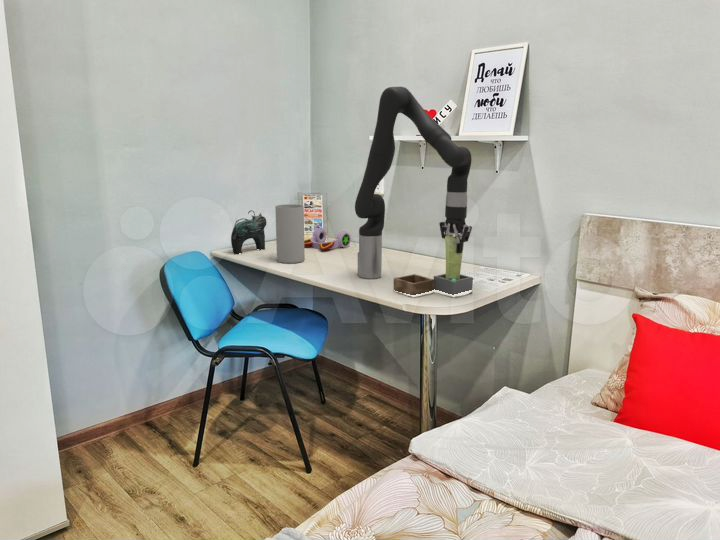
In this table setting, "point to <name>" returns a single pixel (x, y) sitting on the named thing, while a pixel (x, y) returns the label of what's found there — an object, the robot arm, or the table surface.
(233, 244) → the ceramic cat
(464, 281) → the socket block
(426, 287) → the brown wooden square frame
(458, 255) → the tube
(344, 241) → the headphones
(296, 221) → the cylinder vase
